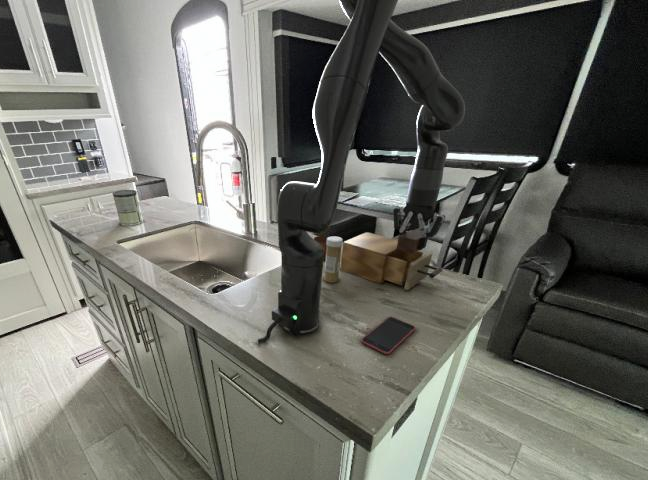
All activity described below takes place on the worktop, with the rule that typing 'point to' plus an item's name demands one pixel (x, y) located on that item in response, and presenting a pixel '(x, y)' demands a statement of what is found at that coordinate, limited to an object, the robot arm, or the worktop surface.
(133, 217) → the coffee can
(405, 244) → the block
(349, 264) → the cabinet
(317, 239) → the cup and saucer
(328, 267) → the sprinkles bottle
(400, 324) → the smartphone
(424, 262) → the drawer
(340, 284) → the worktop surface
